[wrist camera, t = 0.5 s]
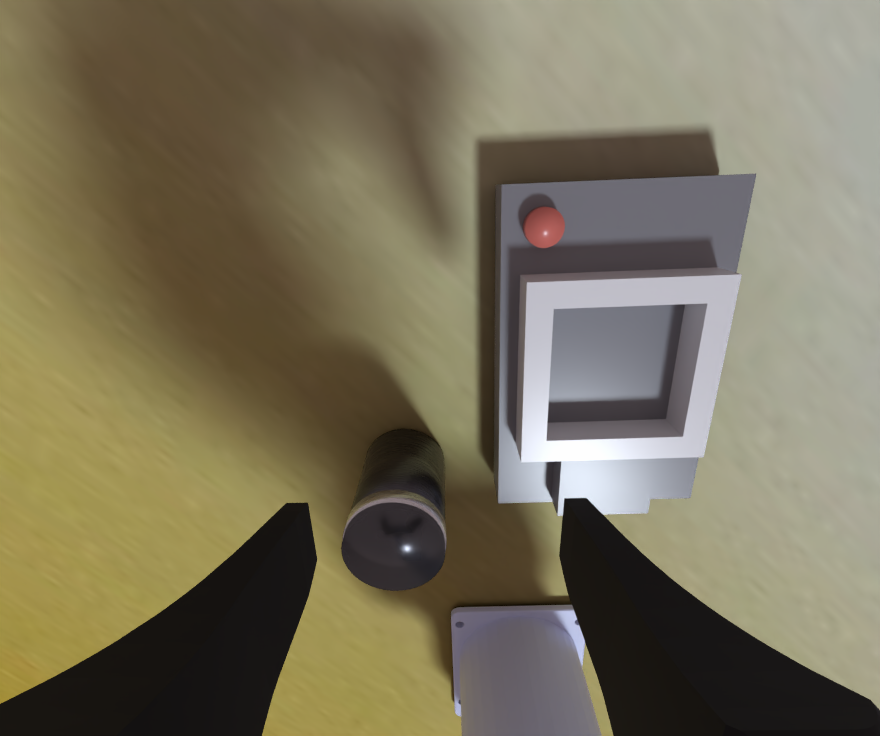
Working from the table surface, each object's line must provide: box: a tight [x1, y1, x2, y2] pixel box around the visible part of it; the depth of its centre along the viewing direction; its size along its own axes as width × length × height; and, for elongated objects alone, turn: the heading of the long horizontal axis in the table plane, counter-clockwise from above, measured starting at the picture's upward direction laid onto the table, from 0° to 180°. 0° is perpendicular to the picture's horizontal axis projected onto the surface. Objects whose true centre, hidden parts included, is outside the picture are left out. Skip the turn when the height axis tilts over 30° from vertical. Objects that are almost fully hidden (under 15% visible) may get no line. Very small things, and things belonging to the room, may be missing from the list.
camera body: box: [494, 174, 756, 516], centre depth 19 cm, size 14×9×4 cm, turn 2°
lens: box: [341, 429, 446, 591], centre depth 20 cm, size 4×4×6 cm
